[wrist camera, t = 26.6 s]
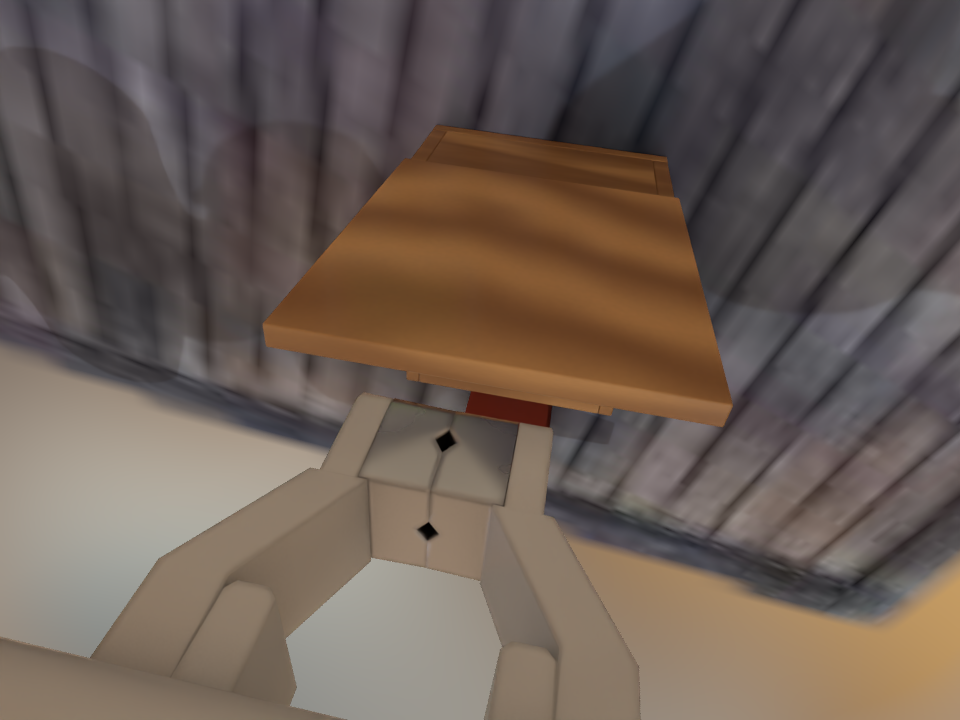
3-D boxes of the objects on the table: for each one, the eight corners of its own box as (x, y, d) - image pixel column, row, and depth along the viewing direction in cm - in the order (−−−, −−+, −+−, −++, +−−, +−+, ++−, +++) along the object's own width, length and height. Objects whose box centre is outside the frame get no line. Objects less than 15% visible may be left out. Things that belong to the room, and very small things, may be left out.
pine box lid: (723, 428, 16) (734, 405, 15) (265, 347, 17) (261, 323, 16) (674, 214, 27) (679, 197, 27) (404, 174, 28) (404, 157, 28)
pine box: (611, 355, 40) (611, 416, 36) (429, 325, 41) (406, 380, 37) (667, 156, 32) (676, 202, 27) (436, 124, 33) (407, 163, 28)
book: (547, 424, 45) (533, 542, 37) (469, 411, 46) (439, 523, 38) (552, 401, 44) (538, 518, 36) (472, 387, 44) (440, 499, 36)
